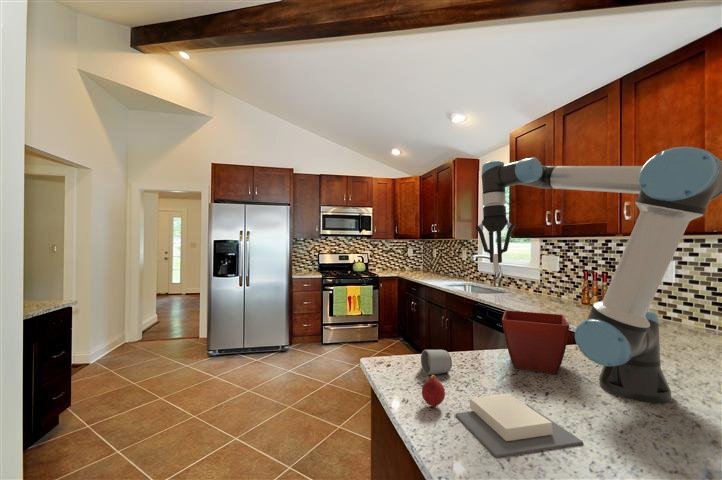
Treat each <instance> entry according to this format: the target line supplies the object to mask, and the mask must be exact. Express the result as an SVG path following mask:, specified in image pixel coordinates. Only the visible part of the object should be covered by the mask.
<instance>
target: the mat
mask: <svg viewBox="0 0 722 480" xmlns="http://www.w3.org/2000/svg"><path fill="white" fill-rule="evenodd" d="M525 405H527V406H528V407H530V408H531V409H533V410H534V411H536V412H537V413H539V414H540V415H542V416H543V417H545V418H546V419H548V420H549V421H551V422H552V435H545V436H539V437H532V438H525V439H518V440H512V441H506V440H504V439H503V438H502V437H501V436H500V435H499V434H498V433H497V432H496V431H495V430H493V429H492V428H491V427H490V426H489V425H488V424H487V423H486V422H485V421H484V420H482V419H481V418H480V417H479V416H478V415H477V414H476V413H475V412H474V411H473V410H471V411H470V410H469V411H463V412H455V413H454V415H455V417H456V418H457V419H458V420H459V421H460V422H461V423H462V424H463V425H464V426H465V427H466V428H467V429H468V431H470V432H471V434H472V435H474V437H475V438H477V440H479V442H481V444H482V445H483V446H484V447H485V448H486V449H487V450H488V452H490V453H491V454H492V455H493V457H495V458H496V459H497V458H503V457H504V458H505V457H509V456H516V455H522V454H528V453H534V452H541V451H548V450H553V449H560V448H566V447H571V446H572V447H573V446H579V445H583V444H584V441H583V440H581V438H579V437H578V436H576V435H574V434H573V433H571V432H570V431H568V430H567V429H565V428H563V427H562V426H560V425H559V424H558V423H556V422H555V421H553V420H551V419H550V418H549V417H547V416H545V415H544V414H543V413H541V412H540V411H538V410H536V409H535V408H533V407H532V406H530V405H529V404H528V403H527V404H526V403H525Z"/></svg>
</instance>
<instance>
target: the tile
mask: <svg viewBox="0 0 722 480" xmlns="http://www.w3.org/2000/svg"><path fill="white" fill-rule="evenodd" d="M527 405H528V404H527ZM527 405H526V403H524V402H522V401H521V400H519V399H517V398H516V397H514V396H513V395H512V394H511V393H499V394H492V395H484V396H481V395H480V396H475V397H474V396H473V397H469V409H470V410H471V411H474V412H475V413H476V414H477V415H478V416H479V417H480V418H481V419H482V420H484V421H485V422H486V423H487V424H488V425H489V426H490V427H491V428H492V429H493V430H495V431H496V432H497V433H498V434H499V435H500V436H501V437H502V438H503V439H504V440H506V441H512V440H518V439H525V438H532V437H539V436H545V435H552V422H551V421H552V420H551V421H549V420H548V419H549V418H548V419H546V418H545V417H546V416H545V417H543V416H542V415H543V414H542V415H540V414H539V413H540V412H539V413H537V412H536V411H537V410H536V411H534V410H533V409H534V408H533V409H531V408H530V407H531V406H530V407H528V406H527Z"/></svg>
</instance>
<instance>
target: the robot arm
mask: <svg viewBox="0 0 722 480" xmlns="http://www.w3.org/2000/svg"><path fill="white" fill-rule="evenodd" d="M481 184H482V195H481V196H482V206H483V207H482V220H481V223H480V224H479V225H476V226H475V230H477V232H478V236H479V238H480V242H481V245H482V249H483V252H484V253H488V254H489V262H490V263H491V264H493V265H492V267H493V268H492V269H493V273H495V274H497V273H499V272H500V267H499V266H500V264H501V263H502V262H503V253H506V252H508V248H509V244H510V241H511V236H512V232H513V230H514V228H515V224H513V223H511V222H509V220H508V218H507V207H506V201H507V200H506V188H509V187H513V186H517V185H519V186H520V185H522V186H527V187H533V188H538V189H543V190H544V189H545V190H547V189H548V190H549V189H551V190H552V189H554V190H555V189H557V190H570V191H571V190H573V191H589V192H606V193H607V192H608V193H621V194H634V195H636V194H637V195H638V196H637V197H636V199H637V200H636V201H635V205H636V207H637V208H638V209H639V215H638V217H637V218H636V221H635V224H634V226H633V229H632V232H630V233H631V234H630V236H629V238H628V241H627V243H626V245H625V248H624V249H623V253H622V255H621V257H620V259H619V262H618V263H617V266H616V269H615V271H614V273H613V276H612V279H611V281H610V282H609V285H608V287H607V290H606V292H605V295H604V297H603V299H602V300H600V301H597V302H594V303H593V304H592V307H591V309H590V312H589V314H588V316H587V318H586V319H584V320H583V321H581V322H580V323H579V324H578V325H577V326H576V328H575V331H574V340H575V341H574V342H575V344H576V345H577V347H578V349H579V351H580V352H581V353H582V354H583V355H584V356H585V357H586V358H587V359H588V360H590V361H592V362H594V363H595V364H598V365H600V366H602V369H601V372H600V374H599V377H598V379H599V380H598V381H599V386H600V387H601V388H602V389H603V390H605V391H606V392H608V393H611V394H612V395H615V396H617V397H621V398H623V399H627V400H631V401H635V402H641V403H646V404H667V403H670V402H671V401H672V391H671V388H670V386H669V385H670V384H669V383H668V380H667V379H666V376H665V375H664V371H663V370H662V368H661V349H660V348H661V347H660V342H661V341H660V322H659V316H658V315H657V313H655V312H654V311H651V310H649V308H650V306H651V304H652V302H653V300H654V298H655V296H656V293H657V292H658V289H659V288H660V285H661V283H662V281H663V279H664V276H665V274H666V272H667V270H668V268H669V266H670V263H671V262H672V260H673V257H674V256H675V254H676V251H677V248H678V247H679V245H680V243H681V240H682V238H683V236H684V234H685V231H686V230H687V228H688V226H689V224H690V222H691V221H693V220H696V219H699V218H701V217H703V216H704V214H705V212H706V210H707V207H708V206H709V204H710V202H711V201H713V200H715V199H718V197H720V196H722V159H721V158H719V157H717V156H716V155H714V154H713V153H712V152H711V151H709V150H706V149H703V148H697V147H693V146H678V147H677V146H676V147H672V148H668V149H665V150H662V151H660V152H659V153H658V152H657V153H656V154H654V155H653V156H652V157H651V158H649V159H648V160H647V161H646V162H645V164H644V165H577V166H576V165H542V163H541V161H539V159H538V158H536V157H530V158H523V159H521V160H518V161H517V160H516V161H514V162H510V163H507V164H505V162H504V161H502V160H492V161H488V162H485V163H484V164H482V167H481ZM505 227H506V229H507V232H506V235H505V240H504V244H503V243H502V231H503V230H504V228H505ZM484 228H485V229H486V230H487V232H488V244H487V241H486V237H485V233H484ZM494 232H496V245H497V247H496V250H497V251H496V252H497V253H495V246H494V245H495V244H494V242H495V241H494V239H495V238H494ZM502 244H503V247H502ZM488 245H489V246H488ZM488 247H489V248H488Z"/></svg>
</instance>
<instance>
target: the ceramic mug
mask: <svg viewBox="0 0 722 480" xmlns="http://www.w3.org/2000/svg"><path fill="white" fill-rule="evenodd" d="M420 363H421V364H420V365H421V369H422V370H423V372H424V374H425V375H426V376H430V375H431V376H432V375H439V374H447V373H449V372H451V370H452V366H453V362H452V357H451V354H450V353H449V352H448V351H447V350H444V349H424V350H422V352H421V354H420Z"/></svg>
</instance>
